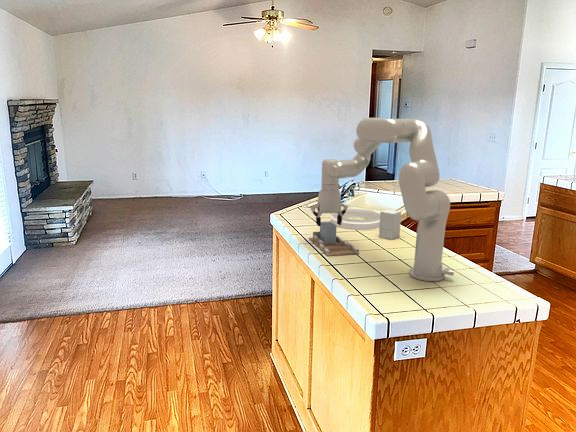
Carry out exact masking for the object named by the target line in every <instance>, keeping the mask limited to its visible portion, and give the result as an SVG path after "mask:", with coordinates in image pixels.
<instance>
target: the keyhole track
mask: <svg viewBox="0 0 576 432" xmlns="http://www.w3.org/2000/svg"><path fill="white" fill-rule="evenodd" d="M308 239H309V241H311V242H312V243H313V244H314V245H315V246H316V247H317V248H318V249H319V250H320V251H321V252H322V253H323V254H325V256H326V257H338V256H354V255H355V256H356V255H360V249H358V248H357V247H356V246H355V245H353V244H352V243H350V242H346V241H345V240H344V239H342V238H341V237H339V236H338V235H337V234H336V243H326V244H325V243H324V242H323V241H322V240H321V239H320V230H318V231H313V232H312V237H309V238H308Z"/></svg>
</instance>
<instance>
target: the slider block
mask: <svg viewBox="0 0 576 432" xmlns="http://www.w3.org/2000/svg"><path fill="white" fill-rule="evenodd" d="M337 228H338V227H337V226H336V225H335V224H333V223H332V222H331V221H321V226H319V231H320V239H321V240H322V241H323V242H324V243H325V244H326V243H336V235H337Z"/></svg>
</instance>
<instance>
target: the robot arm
mask: <svg viewBox="0 0 576 432" xmlns="http://www.w3.org/2000/svg"><path fill="white" fill-rule="evenodd" d="M355 132H356V135H357V138H355V140H354V142H353V148H354V151H355V152H356V155H355V156H354V157H353V158H352V159H344V160H338V159H335V158H332V159H331V158H328V159H323V160H322V162H321V187H320V190H319V191H318V195H317V203H316V204H314V205H313V206H311V207H310V211H311V212H312V214H313V215H314V216H315V223H316V226H318V227H320V226H321V222H322V221H321V220H322V218H321V216H322V215H323V214H332V213H338V216H337V224H338V225H341V223H342V216H343V215H344V214H345V212H346V210H347V209H349V207H348V206H349V205H346V204H344V203H342V198H341V197H342V196H341V191H340V190H339V189H340V188H342V184H340V183H339V182H340V181H339V180H340V179H347V178H355V177H358V176H359V175H360V174H361V173H362V172H364V170H365V169H367V167H368V166H369V164H370V161H371V159H372V158H371V155H372V154H373V153H374V152H375V151H376V150H377V149H378V148H379V147H380V146H381V145H382V143H383V144H395V143H396V144H397V143H410V144H409V149H408V153H409V157H410V158H409V159H410V161H409V162H406V163H404V164H403V165H402V167H400V170H399V172H398V184H399V185H398V186H399V189H400V192H401V196H402V197H401V198H402V202H403V207H404V210H405V213H406V214H407V216H408V217H409V218H410V219H412V220H414V221H418V223H417V228H416V239H415V250H414V259H413V260H414V262H413V267H411V268H410V269H409V270H408V275H409V276H410V277H412V278H414V279H417V280H419V281H425V282H439V281H442V280H444V279H445V277H446V275H448V276H452V277H453V276H454V273H455V270H453V269H452V268H450V267H445V266H443V264H444V263H443V262H442V261H443V253H444V252H443V251H444V245H445V242H444V241H445V235H446V234H445V233H446V225H447V221H448V217H449V213H450V209H451V201H450V198H449V196H448V194H447V193H446V192H444V191H442V190H439V189H437V190H435V189H432V190H427V188H430V187H435V185H437V184H438V183H439V181H440V178H441V175H440V171H439V170H440V169H439V165H438V161H437V156H436V151H435V148H434V143H433V136H432V132H431V129H430V127H429V125H428V124H427V123H426V122H425V121H423V120H421V119H416V118H383V117H365V118H362V119H361V120H360V121H359V122H358V123H357V125H356V130H355ZM342 207H343V208H342ZM316 209H317V210H316ZM341 209H343V210H342V211H341ZM316 211H317V212H316Z"/></svg>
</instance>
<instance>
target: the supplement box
mask: <svg viewBox="0 0 576 432" xmlns="http://www.w3.org/2000/svg"><path fill="white" fill-rule="evenodd" d="M379 214H380V227H379V228H378V232H379V233H378V238H381V239H387V240H390V241H391V240H395V239H398V238H400V235H401V221H402V219H401V217H402V211H400V210H393V209H389V208H388V209H384V210H380V212H379Z"/></svg>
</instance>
